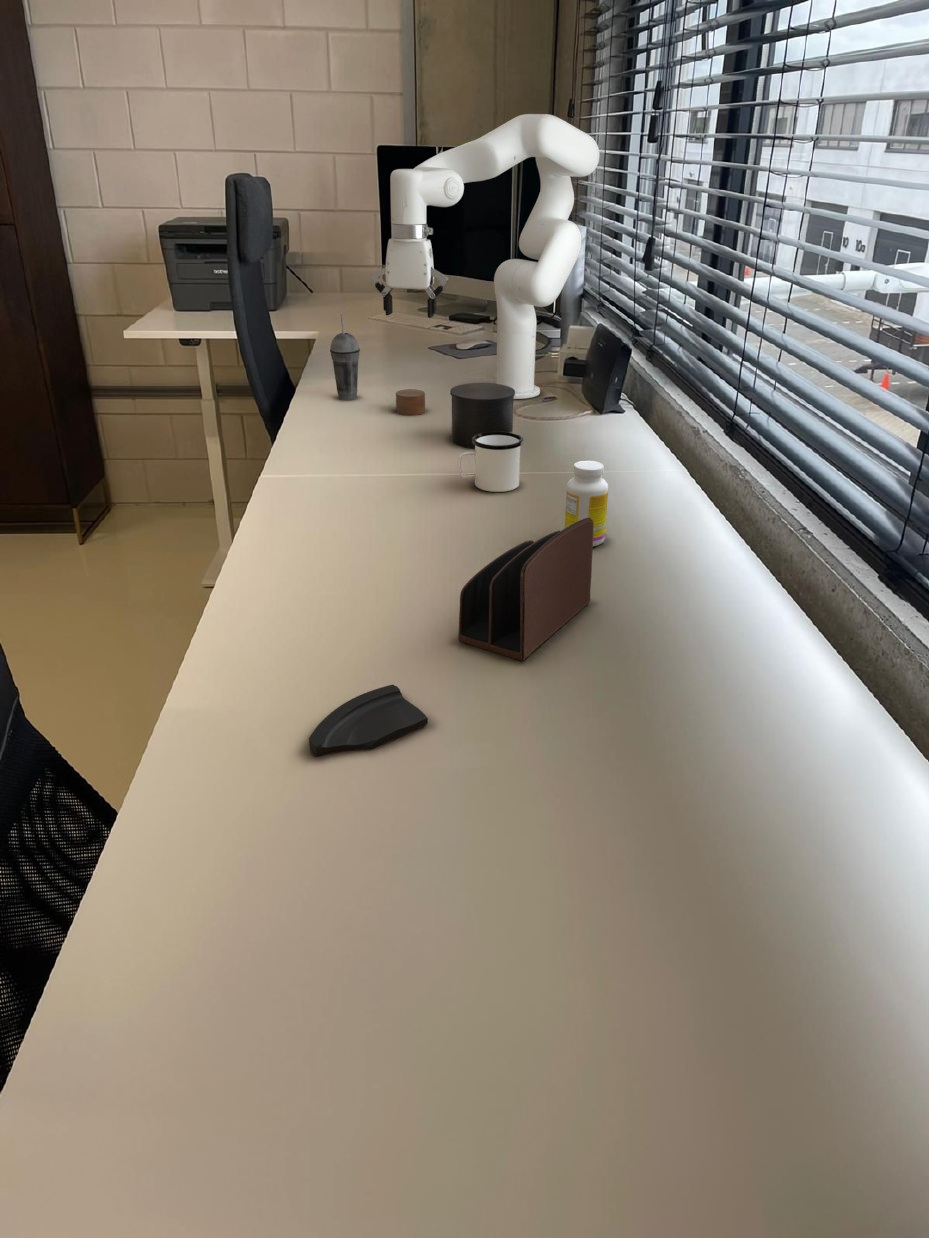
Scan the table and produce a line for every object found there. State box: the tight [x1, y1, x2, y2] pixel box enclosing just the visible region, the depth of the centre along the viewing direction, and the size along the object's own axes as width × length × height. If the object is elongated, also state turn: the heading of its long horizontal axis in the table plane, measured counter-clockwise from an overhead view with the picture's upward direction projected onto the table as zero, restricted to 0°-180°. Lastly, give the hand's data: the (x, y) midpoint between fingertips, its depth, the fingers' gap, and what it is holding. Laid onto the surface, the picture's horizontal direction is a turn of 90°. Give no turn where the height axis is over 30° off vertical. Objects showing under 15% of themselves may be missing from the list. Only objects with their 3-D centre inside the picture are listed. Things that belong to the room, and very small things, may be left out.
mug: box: [458, 431, 524, 493], centre depth 176 cm, size 12×9×9 cm
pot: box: [449, 382, 515, 450], centre depth 200 cm, size 14×14×11 cm
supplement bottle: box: [564, 460, 609, 547], centre depth 152 cm, size 7×7×13 cm
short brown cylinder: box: [395, 388, 426, 416], centre depth 221 cm, size 7×7×4 cm
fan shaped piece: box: [308, 684, 429, 758], centre depth 106 cm, size 8×14×2 cm, turn 125°
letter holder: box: [457, 517, 594, 662], centre depth 126 cm, size 10×20×14 cm, turn 148°
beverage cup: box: [329, 314, 361, 401], centre depth 228 cm, size 7×7×20 cm
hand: (409, 315), depth 210 cm, fingers open, 9 cm apart
